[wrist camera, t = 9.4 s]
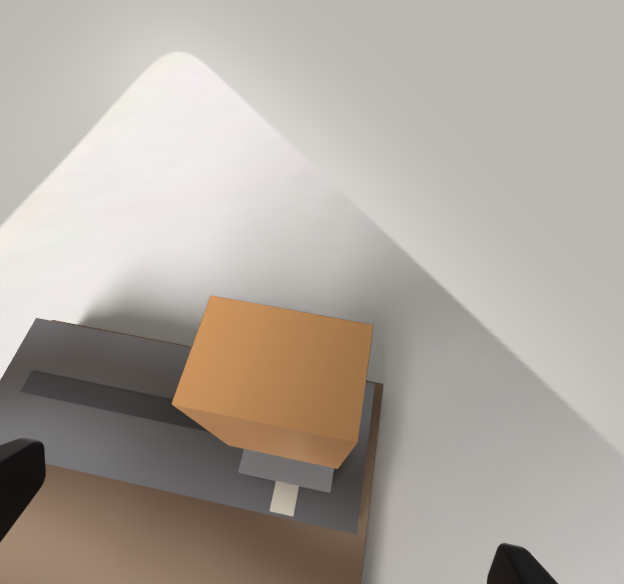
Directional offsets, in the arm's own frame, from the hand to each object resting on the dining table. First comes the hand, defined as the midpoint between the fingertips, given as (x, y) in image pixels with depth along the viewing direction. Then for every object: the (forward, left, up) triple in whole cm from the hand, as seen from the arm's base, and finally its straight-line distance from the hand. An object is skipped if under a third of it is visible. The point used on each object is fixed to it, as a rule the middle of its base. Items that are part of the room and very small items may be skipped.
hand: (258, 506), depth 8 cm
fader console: (0, +5, -9) cm, 10 cm away
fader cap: (+2, 0, -6) cm, 6 cm away
